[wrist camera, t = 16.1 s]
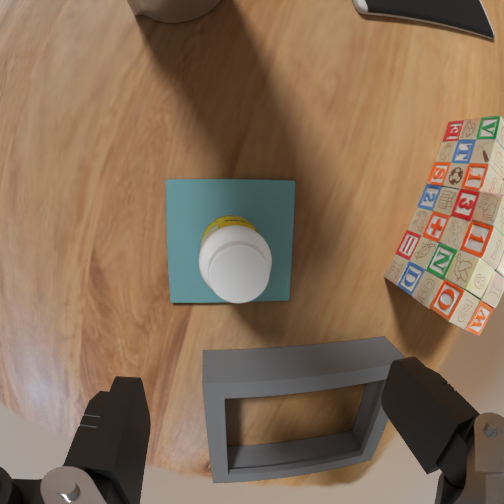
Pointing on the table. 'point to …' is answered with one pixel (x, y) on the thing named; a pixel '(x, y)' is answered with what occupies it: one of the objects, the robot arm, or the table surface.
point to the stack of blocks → (459, 228)
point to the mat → (219, 204)
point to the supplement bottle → (234, 259)
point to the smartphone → (433, 13)
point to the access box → (291, 382)
